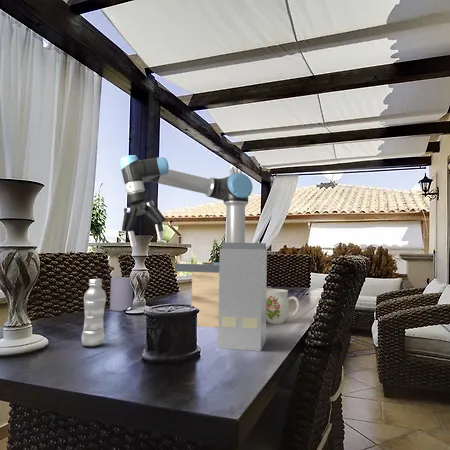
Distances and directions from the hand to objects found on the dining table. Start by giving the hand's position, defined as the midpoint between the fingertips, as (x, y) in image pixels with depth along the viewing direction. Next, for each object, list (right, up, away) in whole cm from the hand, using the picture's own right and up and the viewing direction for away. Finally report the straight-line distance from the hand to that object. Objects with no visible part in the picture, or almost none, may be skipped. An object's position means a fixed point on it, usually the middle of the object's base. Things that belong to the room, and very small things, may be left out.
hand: (147, 243), depth 156 cm
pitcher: (+54, -33, 0) cm, 63 cm away
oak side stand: (+29, -32, -7) cm, 43 cm away
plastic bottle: (-8, -29, -42) cm, 51 cm away
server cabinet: (+38, -30, -37) cm, 61 cm away
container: (-18, -33, +24) cm, 45 cm away
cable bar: (+24, -11, -5) cm, 27 cm away
